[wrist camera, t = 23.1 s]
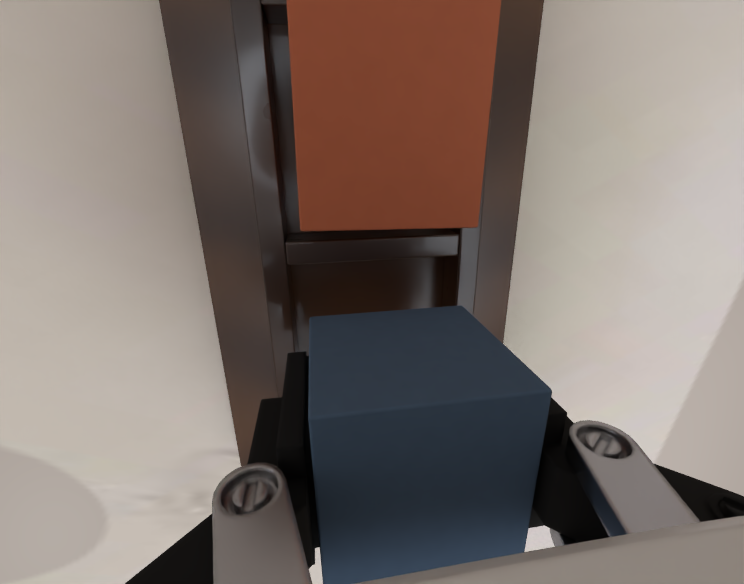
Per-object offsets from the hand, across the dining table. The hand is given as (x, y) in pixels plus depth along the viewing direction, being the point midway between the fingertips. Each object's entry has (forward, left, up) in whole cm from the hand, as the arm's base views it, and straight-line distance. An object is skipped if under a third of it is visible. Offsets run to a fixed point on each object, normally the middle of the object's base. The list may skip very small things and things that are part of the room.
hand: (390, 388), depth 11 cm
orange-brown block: (-7, 0, -4) cm, 9 cm away
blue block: (0, 0, 0) cm, 0 cm away
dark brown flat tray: (-4, 0, -5) cm, 6 cm away
